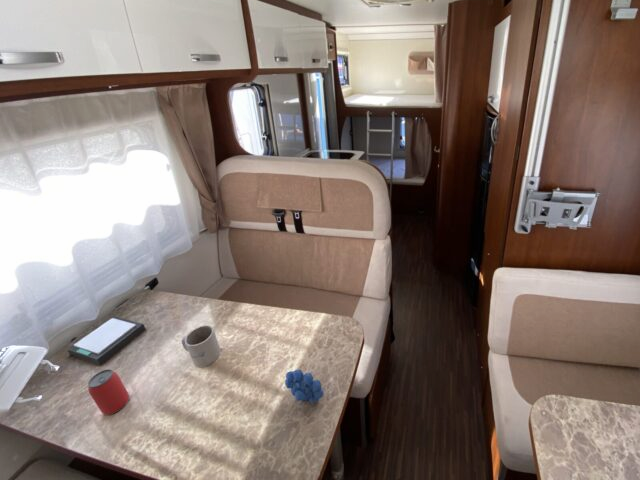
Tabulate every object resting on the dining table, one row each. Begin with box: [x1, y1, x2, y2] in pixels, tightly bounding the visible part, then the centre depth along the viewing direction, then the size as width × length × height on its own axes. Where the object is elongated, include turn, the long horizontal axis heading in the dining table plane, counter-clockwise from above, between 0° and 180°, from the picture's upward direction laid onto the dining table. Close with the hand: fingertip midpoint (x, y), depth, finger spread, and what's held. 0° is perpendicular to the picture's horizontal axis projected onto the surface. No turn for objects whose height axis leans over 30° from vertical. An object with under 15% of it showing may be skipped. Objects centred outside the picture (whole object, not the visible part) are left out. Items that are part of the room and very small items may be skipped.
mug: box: [181, 324, 222, 368], centre depth 105 cm, size 12×9×10 cm
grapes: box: [284, 369, 325, 403], centre depth 88 cm, size 12×7×12 cm, turn 79°
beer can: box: [87, 368, 130, 416], centre depth 89 cm, size 7×7×12 cm
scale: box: [66, 315, 146, 366], centre depth 113 cm, size 16×16×4 cm
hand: (49, 385), depth 82 cm, fingers open, 8 cm apart
